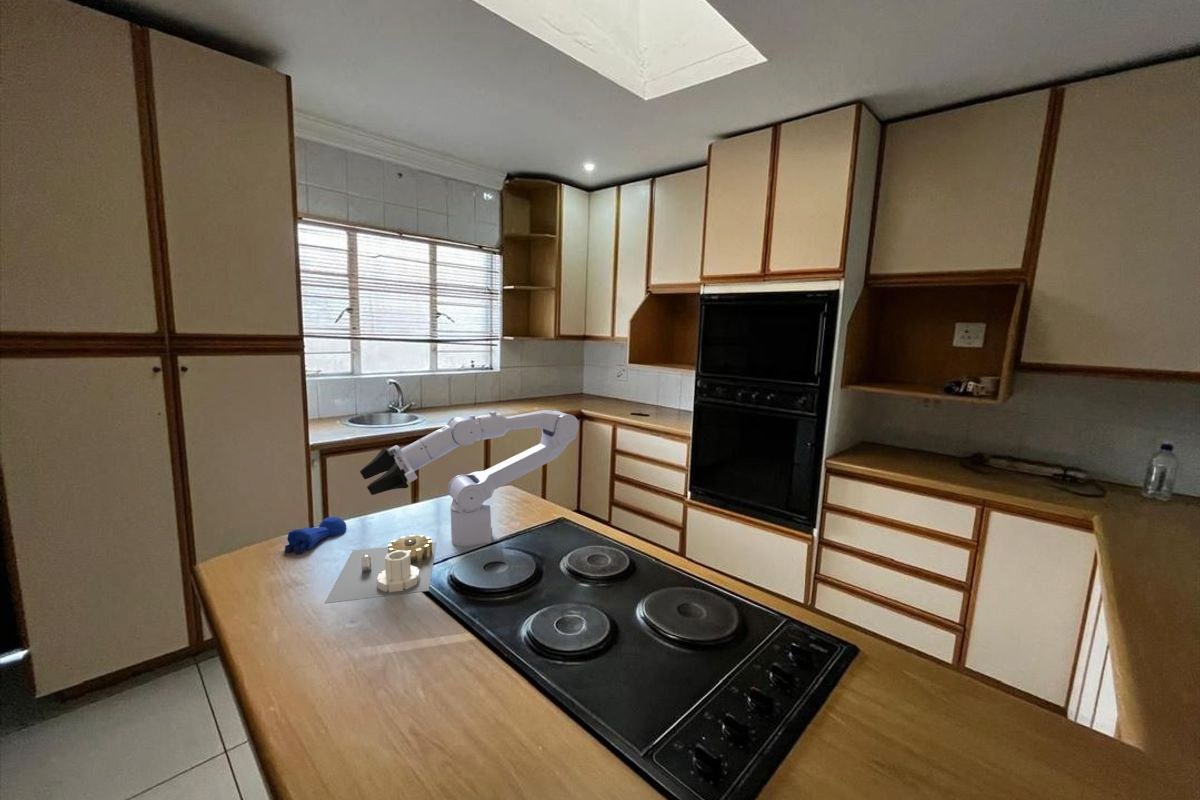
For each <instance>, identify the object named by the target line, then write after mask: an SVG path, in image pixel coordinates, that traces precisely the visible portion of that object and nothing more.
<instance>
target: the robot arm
mask: <svg viewBox="0 0 1200 800" xmlns="http://www.w3.org/2000/svg"><path fill="white" fill-rule="evenodd" d="M579 424H580V423H579V420H578V419H577V417H576V416H575V415H573V414H568V413H566V412H562V411H560V410H558V409H550V410H549V409H542V410H537V411H532V412H526V413H521V414H517V415H510V416H506V417H505V416H504V415H503V414H502V413H498V412H496V411H489V413H488V414H482V415H477V416H476V415H474V414H470V415H469V417H468V418H466V417H464V416H458V417H452V418H450V419H449V420H448V422H447V423H446V425H445V426H443V427H441V428H439V429H437V430H436V429H435V430H434V431H432V432H431V433H429V434H427V435H425V436H423V437H421V438H419V439H417V440H416V441H413V442H412V443H410V444H408V445H405V446H404V447H402V448H401V447H400V446H399V445H397V444H396V445H394V446H392V447H390V448H388V449H387V448H386V446H384V447H382V448H381V449H380V452H379V453H378V454H377V455H376V456H375V457H374V458H373V459H372V460H371V461H370V462H369V463H367V464H366V465H365V466H364V467H363V468H361V469H360V470H359V473H360V476H362V478H363V479H364V480H368V479H370V478H373V477H375V476H377V475H379V474H382V473H383V474H382V475H381V476H379V477H378V478H376V479H375V480H373V481H372V482H370V483H369V484H368V485H367V486H366V488H367V490H368V491H369V493H370V495H371V496H375V495H377V494H381V493H384V492H387V491H388V492H389V491H391V490H400V489H408V488H409V484H410V483H411V482H414V481H415V480H417V479H419V477H418V476H417V474H416V471H417V470H420V469H421V468H423V467H425V466H426V465H428V464H430V463H432V462H433V461H435V460H438V459H439V458H441V457H442V456H444V455H447V454H448V453H450V452H452V451H453V450H455V449H457V448H459V447H460V446H461V445H462V446H472V445H473V444H475V442H476V441H477V442H478V441H484V440H490V439H495V438H503V437H504V436H505V435H506V434H507V433H508V432H509V431H513V430H516V431H517V430H523V429H524V430H525V429H532V428H541V439H540V442H539V444H536V445H534V446H532V447H530V448H528V449H525V450H524V451H522V452H519V453H517V454H515V455H514V456H512V457H509V458H507V459H505V460H503V461H501V462H499V463H497V464H495V465H493V466H491V467H489V468H486V469H485V470H480V471H473V472H471V473H468V474H459V475H456V476H454V477H453V478H452V479H451V480H450V481H449V483H448V485H447V492H448V494H449V496H450V497H451V498H452V502H451V504H450V532H451V533H450V534H451V535H450V537H451V543H452V545H454V546H458V547H470V546H475V545H481V544H490V543H492V536H493V527H492V516H491V515H492V513H491V511H492V510H491V505H490V504H483V503H484V502H486V501H487V500H488V499H491V498H492V497H493V494H494V492H495V490H497V489H499V488H501V487H503V486H505V485H507V484H510V483H511V482H512V481H514V480H517V479H519V478H521V477H523V476H524V475H526V474H528V473H529V474H530V473H531V472H533V471H534V470H535V471H536V469H538V468H541V467H542V466H544V465H547V464H549V463H550V462H552V461H554V460H556V459H557V458H559V456H560V455H561V454H562V453H563V451H564V450H565V449H566V448H567V446H568V445H569V444H570V443H571V442H572V441H574V440H576V439H577V435H578V432H579V428H580V425H579ZM407 482H408V483H407Z"/></svg>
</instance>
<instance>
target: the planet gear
mask: <svg viewBox="0 0 1200 800" xmlns="http://www.w3.org/2000/svg"><path fill="white" fill-rule="evenodd" d="M419 578H420V569H419V568H417V567H415V566H412V565H411V563H410V552H408V551H405V550H404V551H403V550H399V551H393V552H391V553H389V554H387V555H386V557H385V570H384V571H382V572H381V573H380V574H379V575H378V578H377V587H378V589H380V590H383V591H385V592H387V591H389V592H395V591H403V589H406V590H407V589H408V588H410V587H412V586H414V585H416V584H417V582H419Z"/></svg>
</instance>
